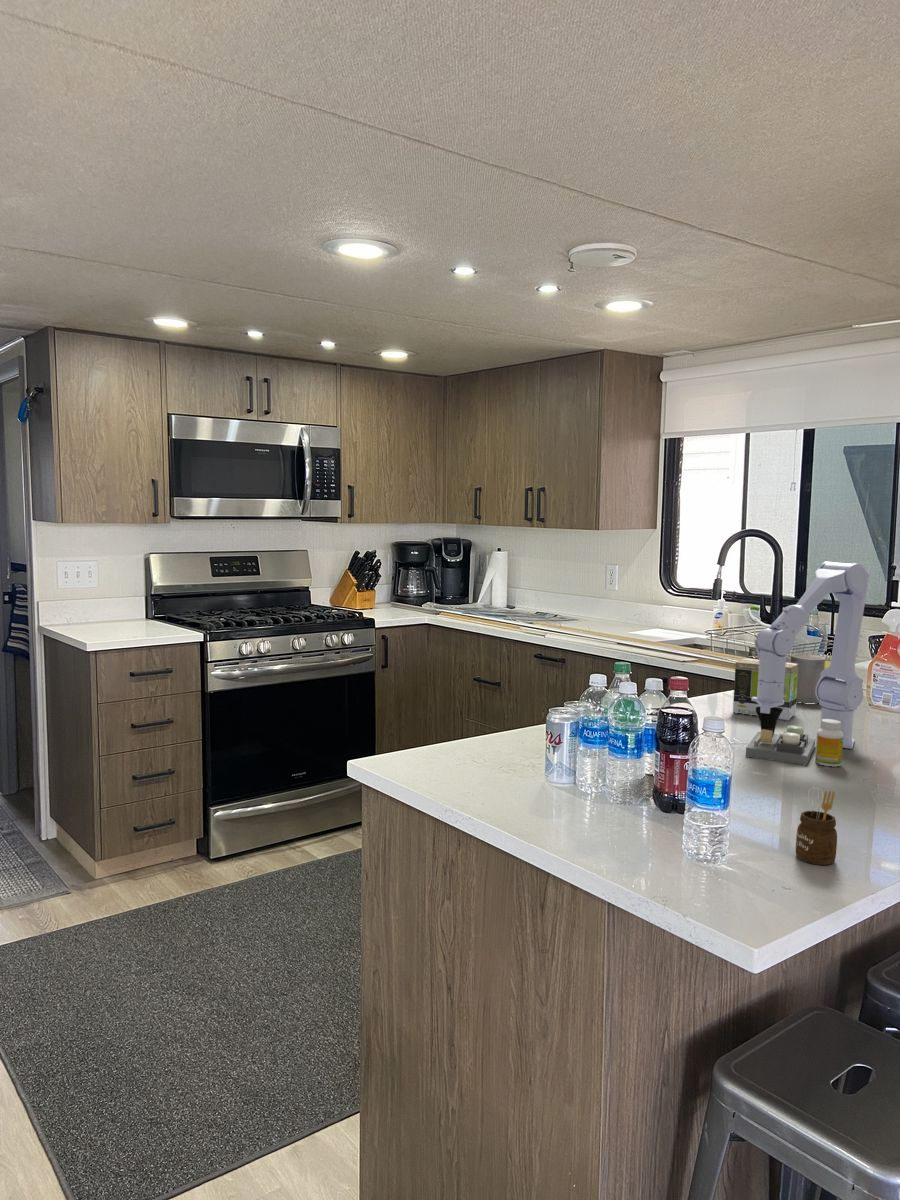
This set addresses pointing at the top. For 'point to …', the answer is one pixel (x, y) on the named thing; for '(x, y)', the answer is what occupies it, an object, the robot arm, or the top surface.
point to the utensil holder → (817, 834)
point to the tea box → (749, 685)
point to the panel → (781, 749)
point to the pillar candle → (808, 676)
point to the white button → (791, 739)
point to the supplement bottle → (829, 743)
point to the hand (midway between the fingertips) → (767, 738)
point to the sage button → (796, 730)
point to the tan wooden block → (766, 735)
